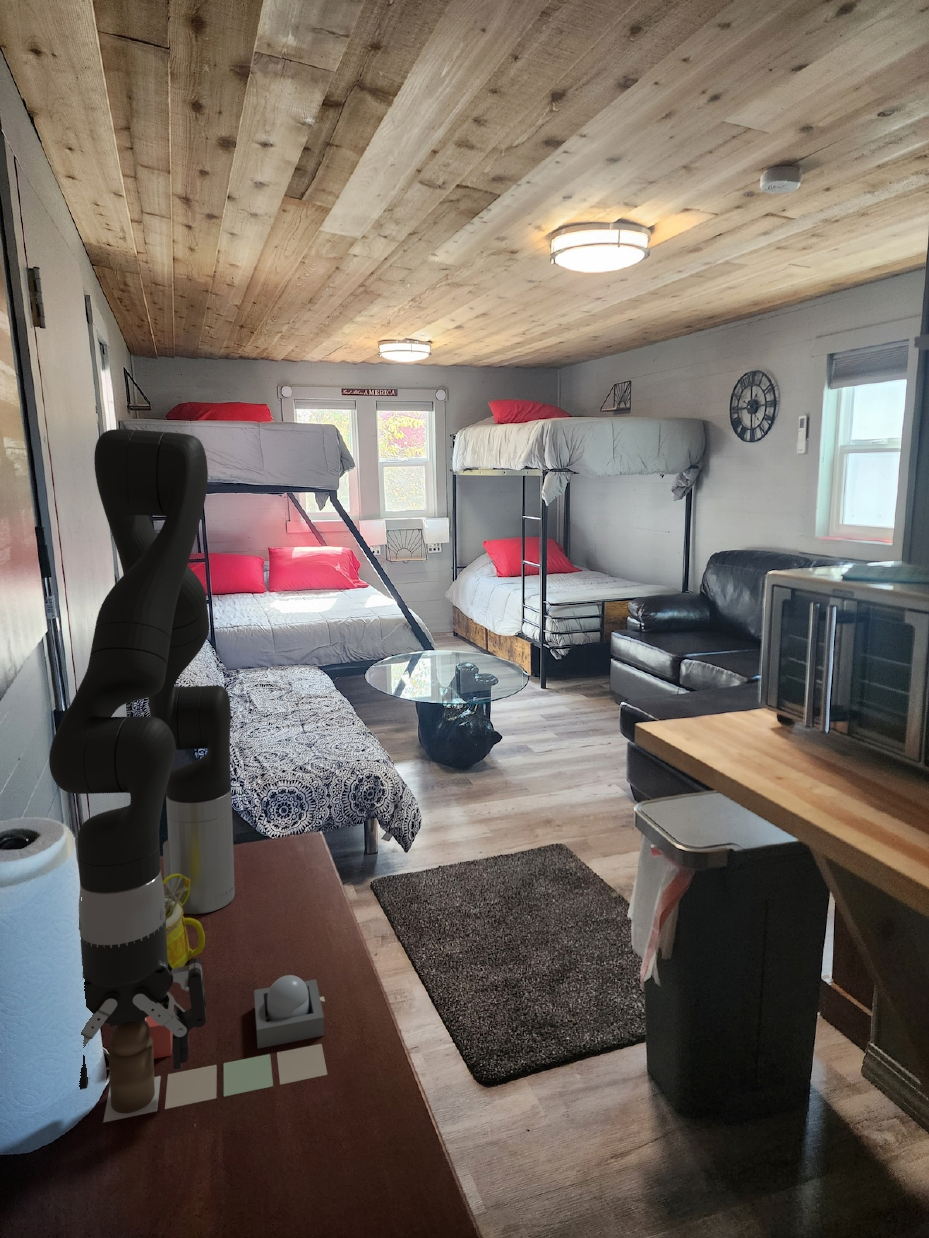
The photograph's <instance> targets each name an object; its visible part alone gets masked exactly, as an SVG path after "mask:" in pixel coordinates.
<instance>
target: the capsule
mask: <svg viewBox="0 0 929 1238" xmlns="http://www.w3.org/2000/svg"><path fill="white" fill-rule="evenodd" d="M304 981H305V980H303V979H302V978H300V977H298V976H296V975H292V974H287V975H284V976H281V977H279V978H277V979H276V980H275V981H274V982H273V983H272V985H271V986H270V989H269V992H268V996H267V1010H268V1011H267V1022H269V1021H275V1020H280V1019H285V1018H291V1017H296V1016H302V1015H307V1014H310V1006H309V996H308V989H307V986H306V984H305V983H304Z"/></svg>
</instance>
